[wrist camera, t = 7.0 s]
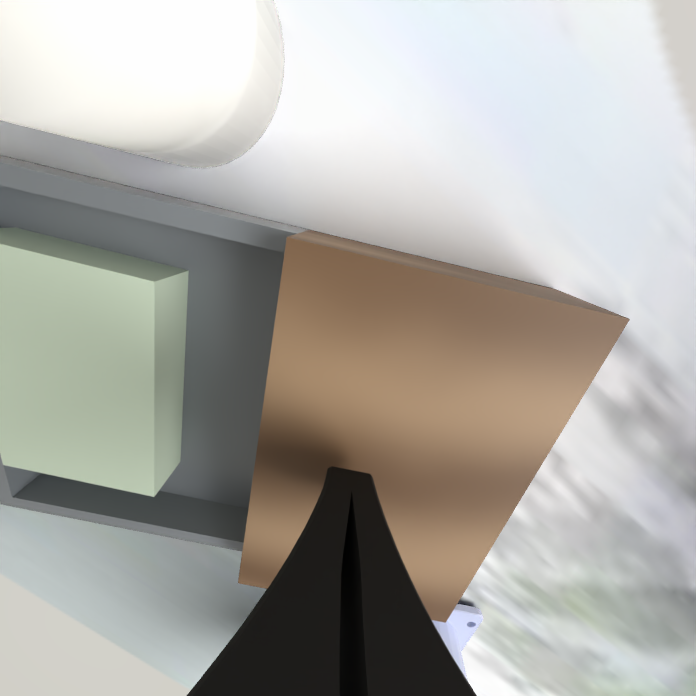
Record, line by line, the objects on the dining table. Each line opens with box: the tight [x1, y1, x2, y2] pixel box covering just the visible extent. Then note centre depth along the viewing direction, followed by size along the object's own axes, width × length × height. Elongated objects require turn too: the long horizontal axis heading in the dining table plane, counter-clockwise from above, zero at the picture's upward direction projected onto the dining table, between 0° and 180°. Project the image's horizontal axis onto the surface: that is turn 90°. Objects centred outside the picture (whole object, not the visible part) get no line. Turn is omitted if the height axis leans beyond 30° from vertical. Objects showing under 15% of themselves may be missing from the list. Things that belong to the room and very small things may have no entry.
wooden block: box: [238, 230, 630, 623], centre depth 12 cm, size 14×9×4 cm, turn 167°
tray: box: [0, 155, 308, 551], centre depth 13 cm, size 14×11×2 cm
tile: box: [0, 227, 189, 497], centre depth 12 cm, size 9×6×2 cm, turn 166°
